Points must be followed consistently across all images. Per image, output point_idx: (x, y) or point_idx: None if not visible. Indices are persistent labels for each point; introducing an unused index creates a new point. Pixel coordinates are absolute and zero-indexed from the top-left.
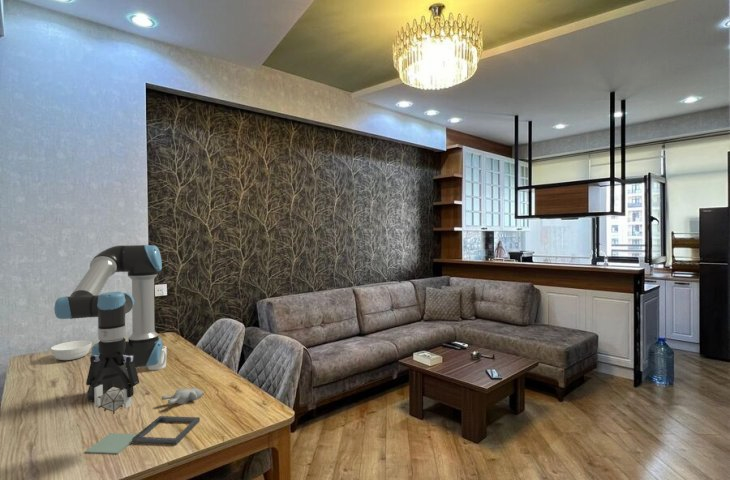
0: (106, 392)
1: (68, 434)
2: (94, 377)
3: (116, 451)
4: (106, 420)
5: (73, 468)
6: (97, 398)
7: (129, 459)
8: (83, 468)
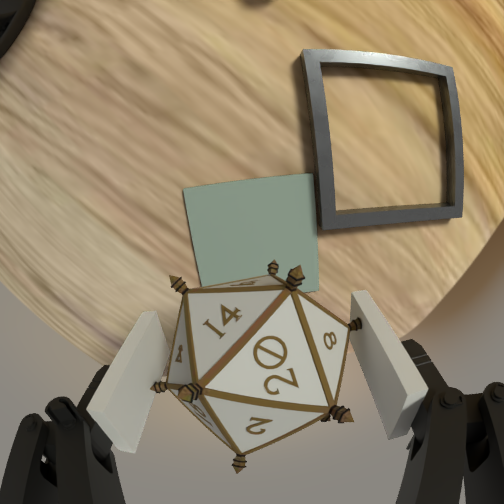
0: (249, 452)
1: (61, 224)
2: (36, 462)
3: (309, 285)
4: (88, 114)
5: None
6: (153, 384)
7: None
8: None
